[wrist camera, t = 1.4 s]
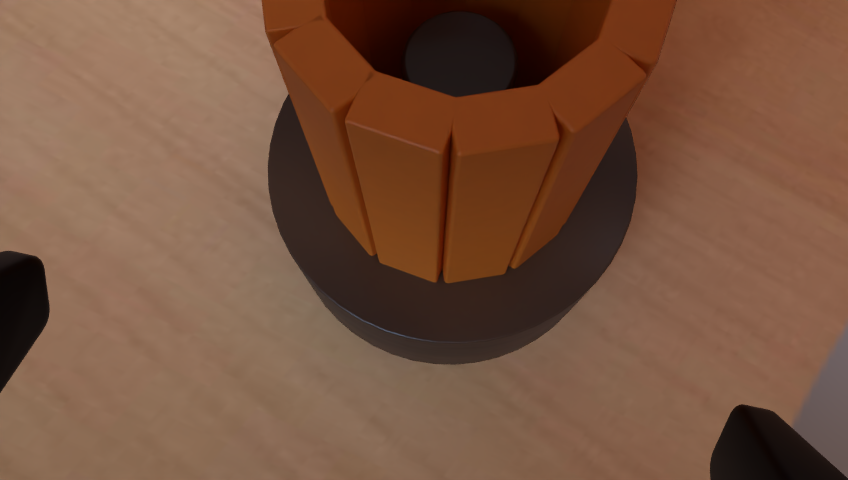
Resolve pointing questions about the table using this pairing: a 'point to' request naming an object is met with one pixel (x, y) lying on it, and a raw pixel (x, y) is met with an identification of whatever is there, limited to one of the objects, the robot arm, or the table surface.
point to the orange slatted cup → (461, 122)
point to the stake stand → (438, 301)
